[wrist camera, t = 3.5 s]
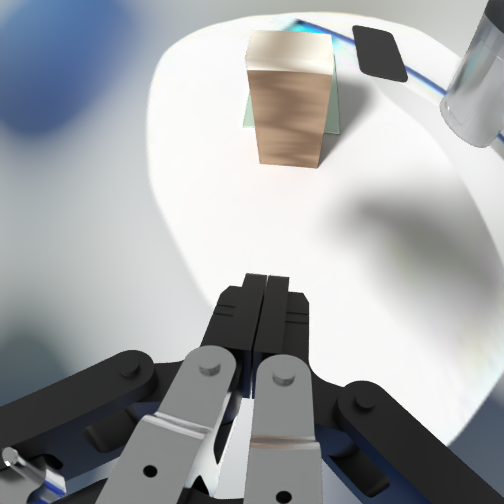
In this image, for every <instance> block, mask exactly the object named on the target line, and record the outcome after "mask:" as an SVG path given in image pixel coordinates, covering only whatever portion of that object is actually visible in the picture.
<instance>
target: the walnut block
mask: <svg viewBox="0 0 504 504" xmlns="http://www.w3.org/2000/svg"><path fill="white" fill-rule="evenodd" d="M245 61H246V67H247V74H248V81H249V88H250V95H251V102H252V109H253V117H254V124H255V131H256V139H257V146H258V154H259V161H260V164H269V165H283V166H296V167H307V168H317V167H318V162H319V156H320V151H321V145H322V139H323V133H324V127H325V121H326V115H327V109H328V102H329V96H330V89H331V82H332V75H333V68H334V56H333V47H332V39H331V35H328V34H319V33H308V32H293V31H252V34H251V37H250V41H249V45H248V48H247V52H246V56H245Z"/></svg>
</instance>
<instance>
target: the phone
mask: <svg viewBox="0 0 504 504" xmlns="http://www.w3.org/2000/svg"><path fill="white" fill-rule="evenodd" d="M352 30H353V34H354V39H355V45H356V50H357V57H358V61H359V67H360V70H361V71H362V72H363V73H365V74H367V75H369V76H373V77H378V78H383V79H388V80H392V81H396V82H398V81H399V82H406V81H407V79H408V76H407V73H406V70H405V67H404V64H403V61H402V58H401V55H400V53H399V50H398V47H397V45H396V42H395V40H394V37H393V35H392V34H391V33H389V32H387V31H383V30H378V29H373V28H369V27H363V26H357V25H355V26H353V28H352Z"/></svg>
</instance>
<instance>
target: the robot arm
mask: <svg viewBox="0 0 504 504" xmlns="http://www.w3.org/2000/svg"><path fill="white" fill-rule="evenodd" d="M440 110H441V114H442V117H443V118H444V120H445V122H446V123H447V125H448V126H449V128H450V129H451V130H452V131H453V132H454V133H455V134H456V135H457V136H458V137H460V138H461V139H462V140H464V141H465V142H467V143H469V144H470V145H473V146H475V147H480V148H484V147H487V146H489V144H490V143H491V142H492V141H493V140H494V139H495V137H496V136H497V135H498V134H499V133H500V131H501V130H502V129H503V128H504V0H489V1H488V3H487V6H486V8H485V11H484V13H483V16H482V18H481V20H480V23H479V25H478V27H477V30H476V32H475V35H474V37H473V39H472V41H471V43H470V46H469V48H468V50H467V52H466V54H465V56H464V58H463V60H462V63H461V65H460V67H459V69H458V71H457V73H456V75H455V77H454V79H453V81H452V83H451V84H450V86H449V88H448V90H447V92H446V94H445V96H444V98H443V100H442V102H441V104H440ZM288 287H289V277H282V276H271V275H269V276H268V281H267V275H260V274H250V273H246V275H245V279H244V282H243V285H242V287H238V286H229V287H228V288H227V289H226V290H224V291H223V292H222V293H221V294H220V297H219V299H218V302H217V306H216V307H215V309H214V312H213V315H212V317H211V319H210V322H209V325H208V327H207V330H206V332H205V335H204V337H203V340H202V342H201V345H200V347H199V348H196V349H194V350H193V351H191V352H190V353H189V354H188V355H187V356H186V358H185V359H184V360H182V361H179V362H172V363H155V364H154V363H153V360H152V359H151V357H150V356H149V355H147V354H146V353H144V352H142V351H138V350H128V351H123V352H121V353H118V354H116V355H114V356H112V357H110V358H108V359H106V360H104V361H102V362H100V363H98V364H95V365H93V366H91V367H89V368H87V369H85V370H83V371H80V372H78V373H76V374H74V375H72V376H69V377H67V378H65V379H63V380H61V381H59V382H56V383H54V384H52V385H50V386H47V387H45V388H43V389H41V390H39V391H36V392H34V393H32V394H29V395H27V396H25V397H23V398H20V399H18V400H16V401H13V402H11V403H9V404H6V405H4V406H1V407H0V504H323V497H322V495H323V492H322V461H321V458H322V459H323V460H324V462H325V463H326V464H327V465H328V466H329V467H330V468H331V470H332V471H333V472H334V473H335V474H336V475H337V476H338V478H339V479H340V480H341V481H342V482H343V483H344V484H345V485H346V486H347V487H348V488H349V490H350V491H351V492H352V493H353V494H354V495H355V496H356V497H357V498H358V499H359V500H360V501H361V503H363V504H504V498H503V497H502V496H501V495H500V494H499V493H498V492H497V491H495V490H494V489H493V488H492V487H491V486H490V485H488V484H487V483H486V482H485V481H484V480H483V479H482V478H481V477H480V476H478V475H477V474H476V473H475V472H474V471H473V470H472V469H471V468H469V467H468V466H467V465H466V464H465V463H464V462H463V461H462V460H461V459H459V458H458V457H457V456H456V455H455V454H454V453H453V452H452V451H451V450H449V449H448V448H447V447H446V446H445V445H444V444H443V443H442V442H441V441H440V440H438V439H437V438H436V437H435V436H434V435H433V434H432V433H431V432H430V431H429V430H427V429H426V428H425V427H424V426H423V425H422V424H421V423H420V422H419V421H418V420H416V419H415V418H414V417H413V416H412V415H411V414H410V413H409V412H408V411H407V410H406V409H404V408H403V407H402V406H401V405H400V404H399V403H398V402H397V401H396V400H395V399H394V398H393V397H391V396H390V395H389V394H388V393H387V392H386V391H385V390H384V389H383V388H381V387H380V386H379V385H377V384H375V383H373V382H369V381H354V382H351V383H349V384H347V385H346V386H345V387H341V386H338V385H335V384H332V383H329V382H326V381H324V380H322V379H321V378H319V377H318V376H317V375H316V374H315V373H314V372H313V371H312V369H311V367H310V365H309V302H308V300H307V299H306V297H305V295H304V294H303V293H298V292H288ZM251 389H252V399H254V409H253V420H252V431H251V439H250V446H249V455H248V465H247V474H246V483H245V493H244V498H240V499H216V498H214V495H215V492H216V489H217V486H218V482H219V477H220V470H221V466H222V463H223V460H224V457H225V454H226V451H227V448H228V445H229V442H230V439H231V436H232V433H233V430H234V427H235V424H236V421H237V416H238V412H239V408H240V404H241V399H242V398H250V394H251ZM119 456H120V458H119V460H118V461H117V463H116V465H115V467H114V469H113V471H112V473H111V474H110V476H109V478H105V479H102V480H99V481H97V482H95V483H93V484H91V485H89V486H87V487H85V488H83V489H81V490H79V491H77V492H75V493H72V494H70V495H68V496H66V497H64V496H65V494H66V488H65V481H67V480H69V479H72V478H74V477H77V476H79V475H81V474H83V473H86V472H88V471H90V470H92V469H95V468H97V467H99V466H101V465H103V464H105V463H107V462H109V461H111V460H113V459H115V458H117V457H119ZM61 497H63V498H61ZM58 498H61V499H59V500H57V499H58ZM55 500H57V501H55Z"/></svg>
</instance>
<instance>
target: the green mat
mask: <svg viewBox="0 0 504 504" xmlns="http://www.w3.org/2000/svg"><path fill="white" fill-rule="evenodd" d="M333 56H334V54H333ZM243 127H252V128H255V124H254V117H253V109H252V102H251V95H250V91H249V96H248V101H247V106H246V111H245V116H244V121H243ZM324 133H332V134H340V123H339V107H338V93H337V82H336V71H335V62H334V68H333V75H332V82H331V89H330V96H329V102H328V109H327V115H326V121H325V127H324Z"/></svg>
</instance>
